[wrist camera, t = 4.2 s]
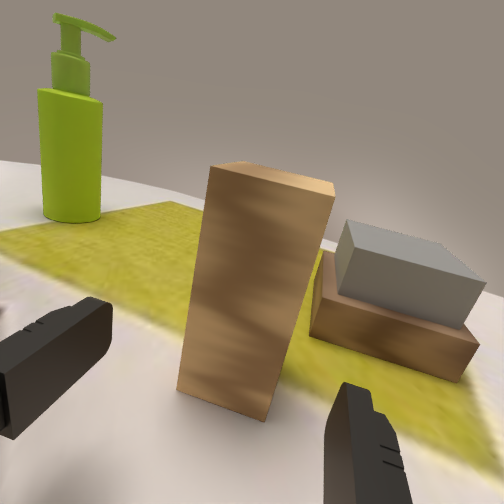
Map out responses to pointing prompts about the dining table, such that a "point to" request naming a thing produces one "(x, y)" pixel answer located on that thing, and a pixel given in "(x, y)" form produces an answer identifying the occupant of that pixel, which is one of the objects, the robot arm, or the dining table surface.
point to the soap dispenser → (71, 130)
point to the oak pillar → (250, 282)
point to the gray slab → (405, 275)
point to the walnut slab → (386, 330)
